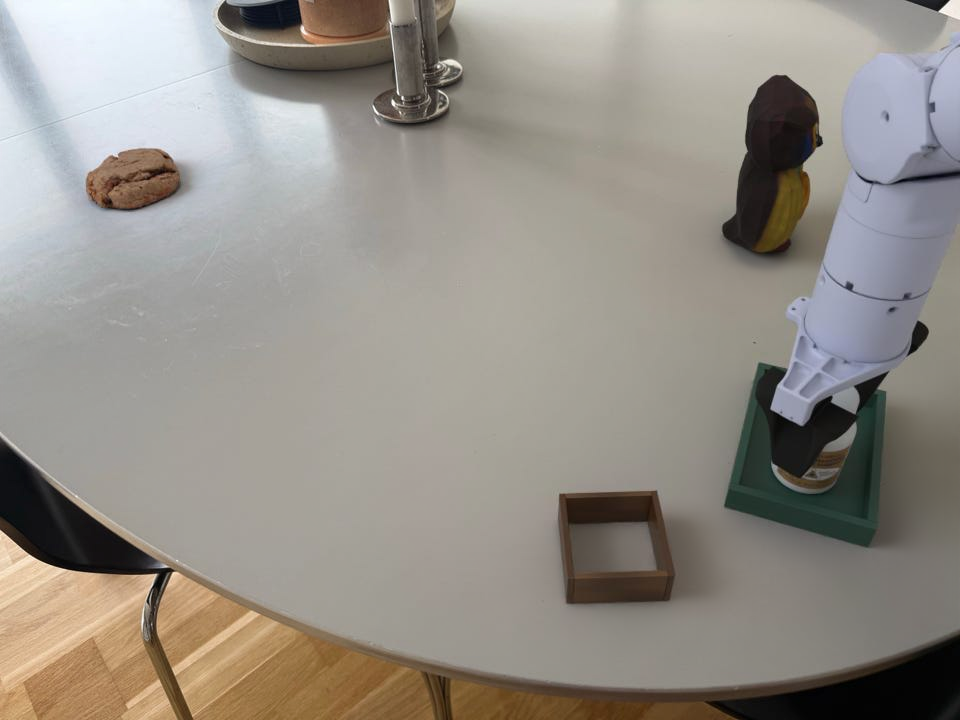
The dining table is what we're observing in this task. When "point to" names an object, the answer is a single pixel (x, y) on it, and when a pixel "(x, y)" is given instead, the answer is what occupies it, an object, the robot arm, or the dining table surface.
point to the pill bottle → (825, 454)
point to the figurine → (774, 166)
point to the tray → (829, 513)
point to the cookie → (133, 179)
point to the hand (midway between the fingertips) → (817, 434)
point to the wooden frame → (615, 583)
